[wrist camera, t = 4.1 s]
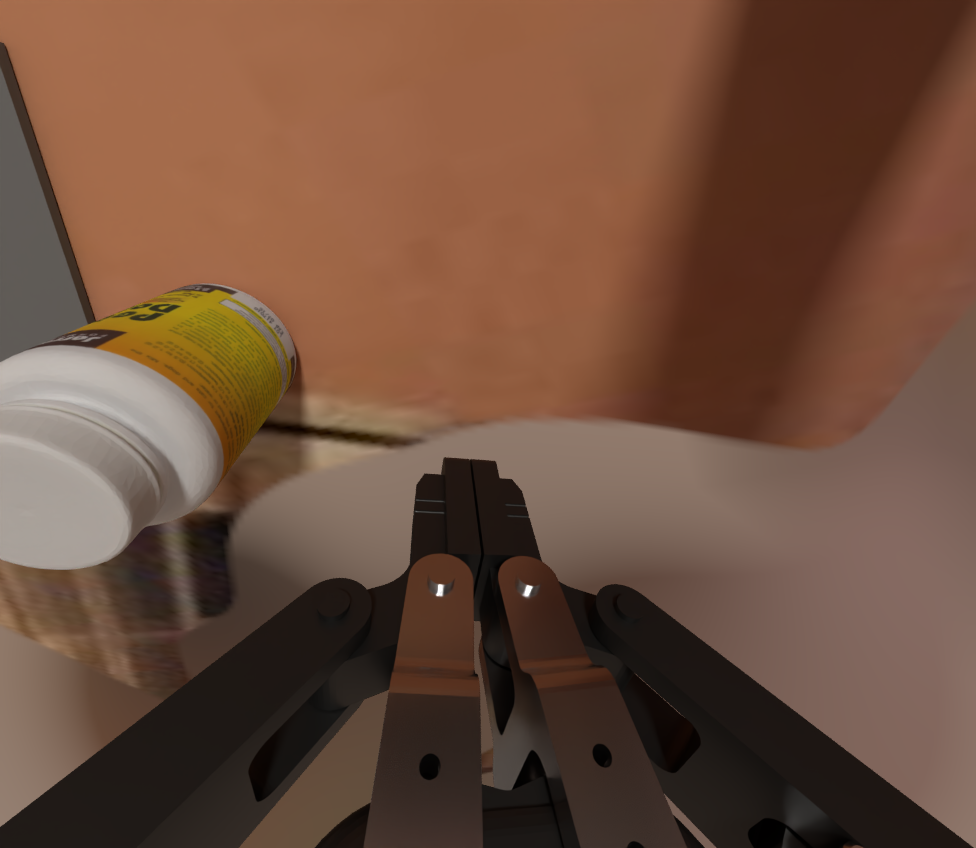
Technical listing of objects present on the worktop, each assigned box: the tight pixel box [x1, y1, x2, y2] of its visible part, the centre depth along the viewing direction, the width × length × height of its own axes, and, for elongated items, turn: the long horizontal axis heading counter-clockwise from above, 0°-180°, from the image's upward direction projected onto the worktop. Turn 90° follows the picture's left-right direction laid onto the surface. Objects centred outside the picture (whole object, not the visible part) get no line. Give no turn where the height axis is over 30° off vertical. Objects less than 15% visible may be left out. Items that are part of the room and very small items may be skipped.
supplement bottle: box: [0, 284, 296, 570], centre depth 13 cm, size 6×6×10 cm
